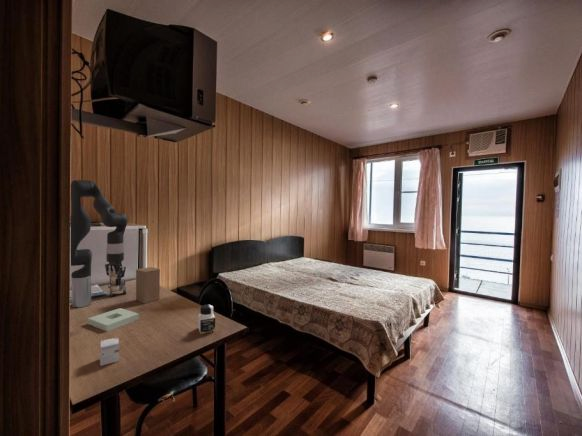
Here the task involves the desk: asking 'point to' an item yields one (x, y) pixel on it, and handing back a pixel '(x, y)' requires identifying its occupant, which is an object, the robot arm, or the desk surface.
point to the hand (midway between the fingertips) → (115, 284)
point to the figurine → (121, 287)
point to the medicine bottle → (206, 319)
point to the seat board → (113, 319)
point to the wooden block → (147, 284)
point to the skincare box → (109, 351)
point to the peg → (113, 281)
